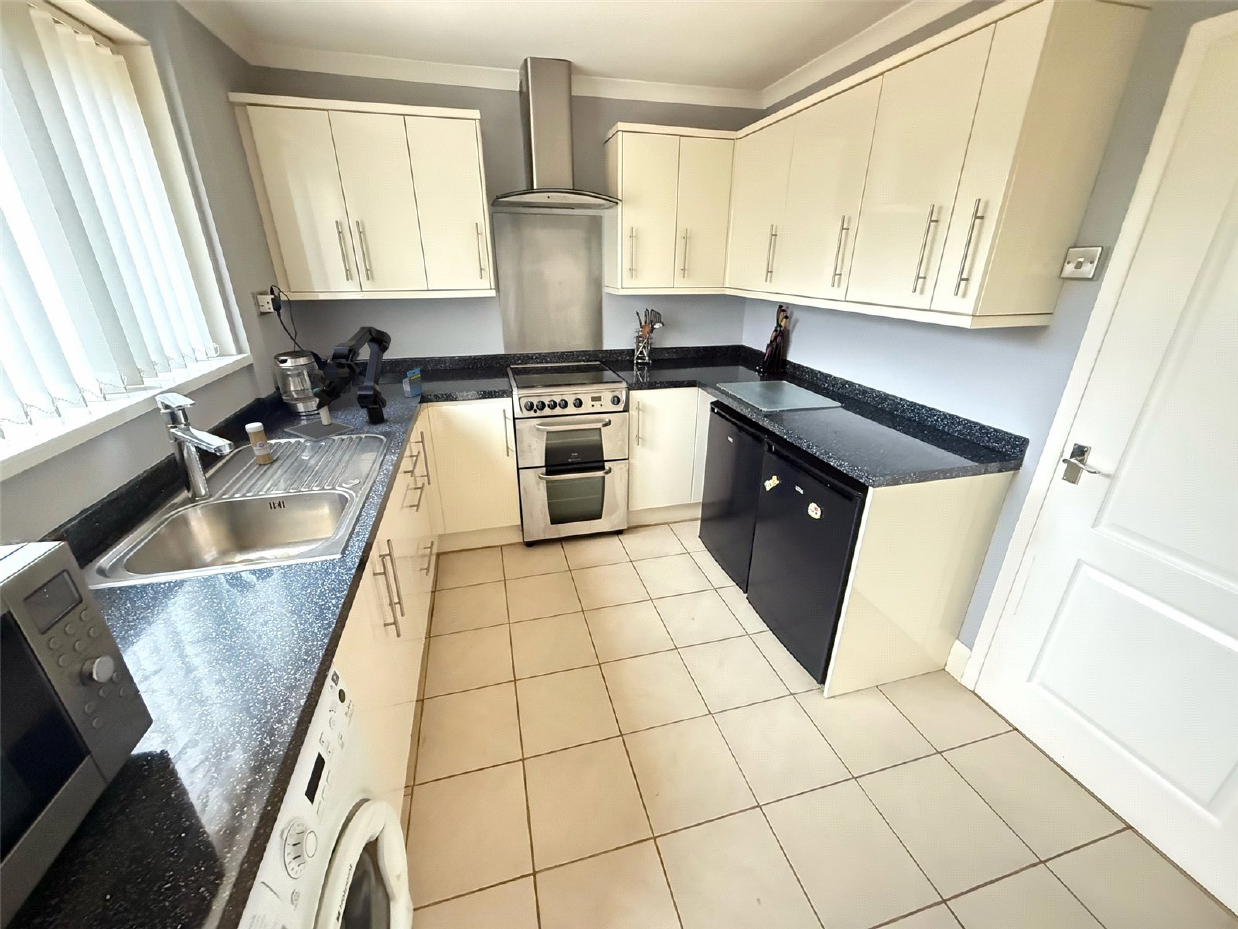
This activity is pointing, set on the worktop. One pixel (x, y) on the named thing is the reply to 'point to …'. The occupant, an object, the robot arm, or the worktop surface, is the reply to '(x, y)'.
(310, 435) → the tablet
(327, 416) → the marker
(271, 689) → the worktop surface
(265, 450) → the sprinkles bottle
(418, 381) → the label tape box
